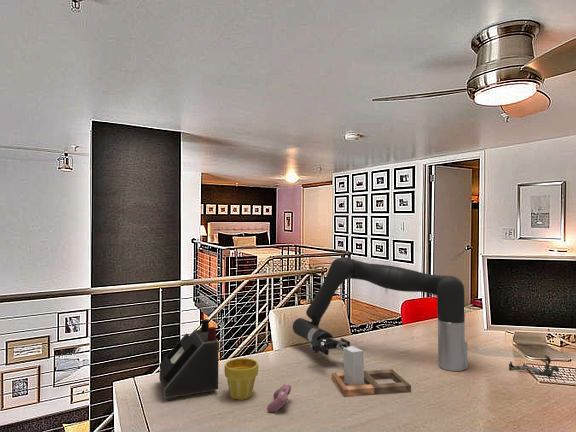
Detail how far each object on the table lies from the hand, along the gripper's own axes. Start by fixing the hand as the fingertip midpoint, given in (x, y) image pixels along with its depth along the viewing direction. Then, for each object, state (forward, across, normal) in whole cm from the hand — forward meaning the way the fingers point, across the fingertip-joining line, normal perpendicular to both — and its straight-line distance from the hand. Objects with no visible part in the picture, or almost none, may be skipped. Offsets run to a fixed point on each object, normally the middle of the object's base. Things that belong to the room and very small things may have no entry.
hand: (338, 351), depth 138 cm
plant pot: (+6, -36, +8) cm, 38 cm away
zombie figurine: (+22, +66, +9) cm, 70 cm away
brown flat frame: (+12, +5, +8) cm, 15 cm away
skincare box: (+11, 0, +8) cm, 14 cm away
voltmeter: (-5, -52, +8) cm, 53 cm away
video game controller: (+16, -27, +8) cm, 33 cm away
